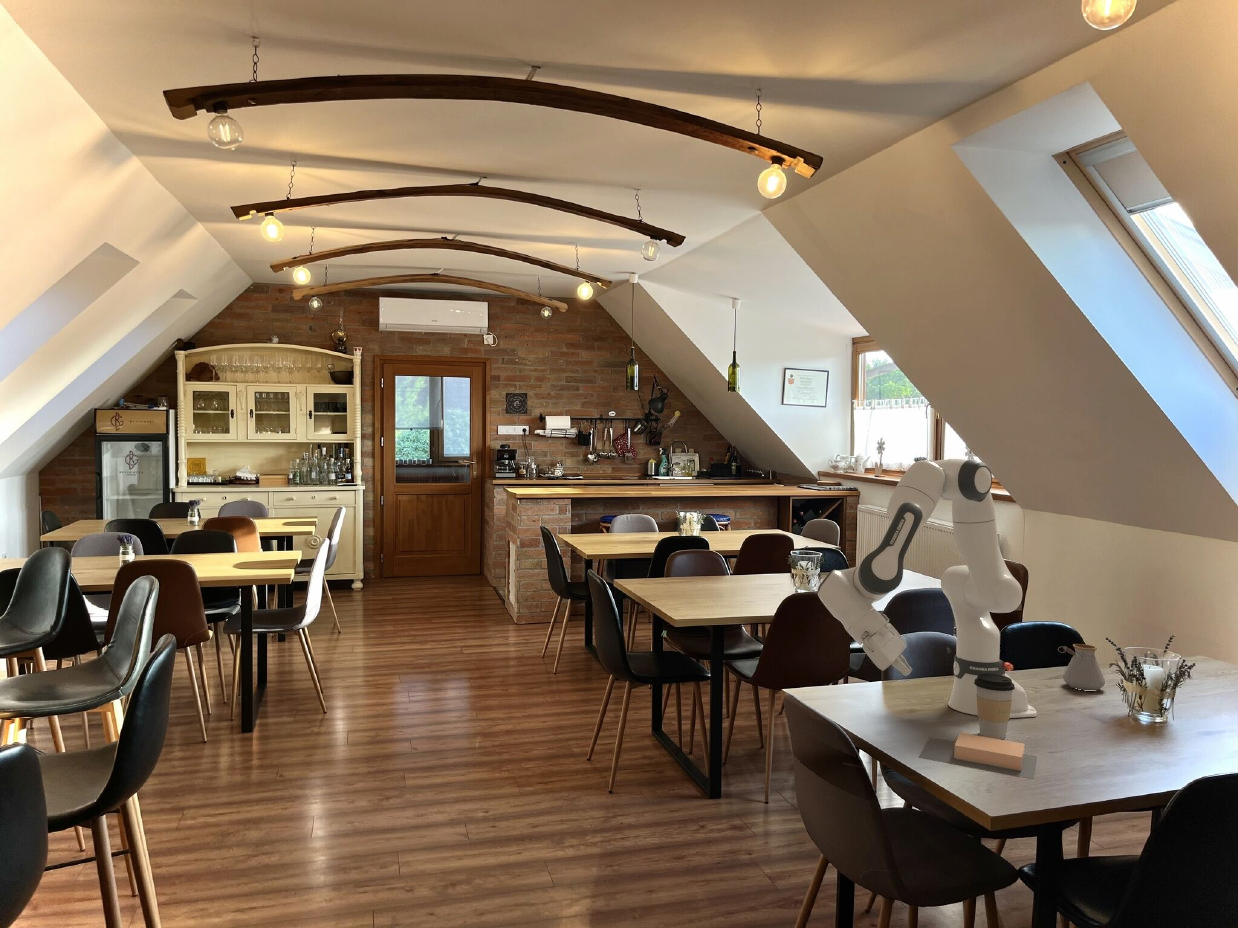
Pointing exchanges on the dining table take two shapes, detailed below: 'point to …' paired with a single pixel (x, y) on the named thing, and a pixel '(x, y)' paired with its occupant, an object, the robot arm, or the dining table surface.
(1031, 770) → the mat
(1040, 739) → the dining table surface
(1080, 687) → the coffee pot
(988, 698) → the coffee cup
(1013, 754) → the block
